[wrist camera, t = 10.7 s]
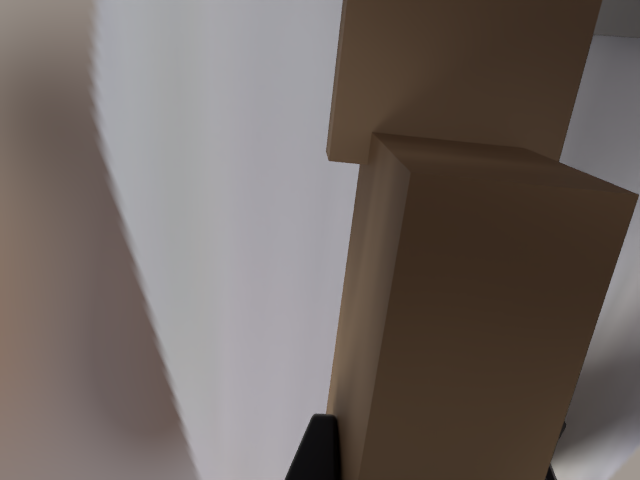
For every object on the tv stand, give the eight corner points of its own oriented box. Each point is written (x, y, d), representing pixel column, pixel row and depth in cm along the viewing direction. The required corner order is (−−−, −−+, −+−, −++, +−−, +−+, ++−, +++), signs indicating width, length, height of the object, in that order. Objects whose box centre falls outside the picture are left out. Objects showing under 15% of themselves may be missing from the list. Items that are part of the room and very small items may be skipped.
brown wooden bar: (404, 673, 13) (440, 883, 10) (268, 670, 13) (257, 884, 10) (619, -176, 7) (910, -387, 4) (367, -216, 7) (435, -482, 3)
